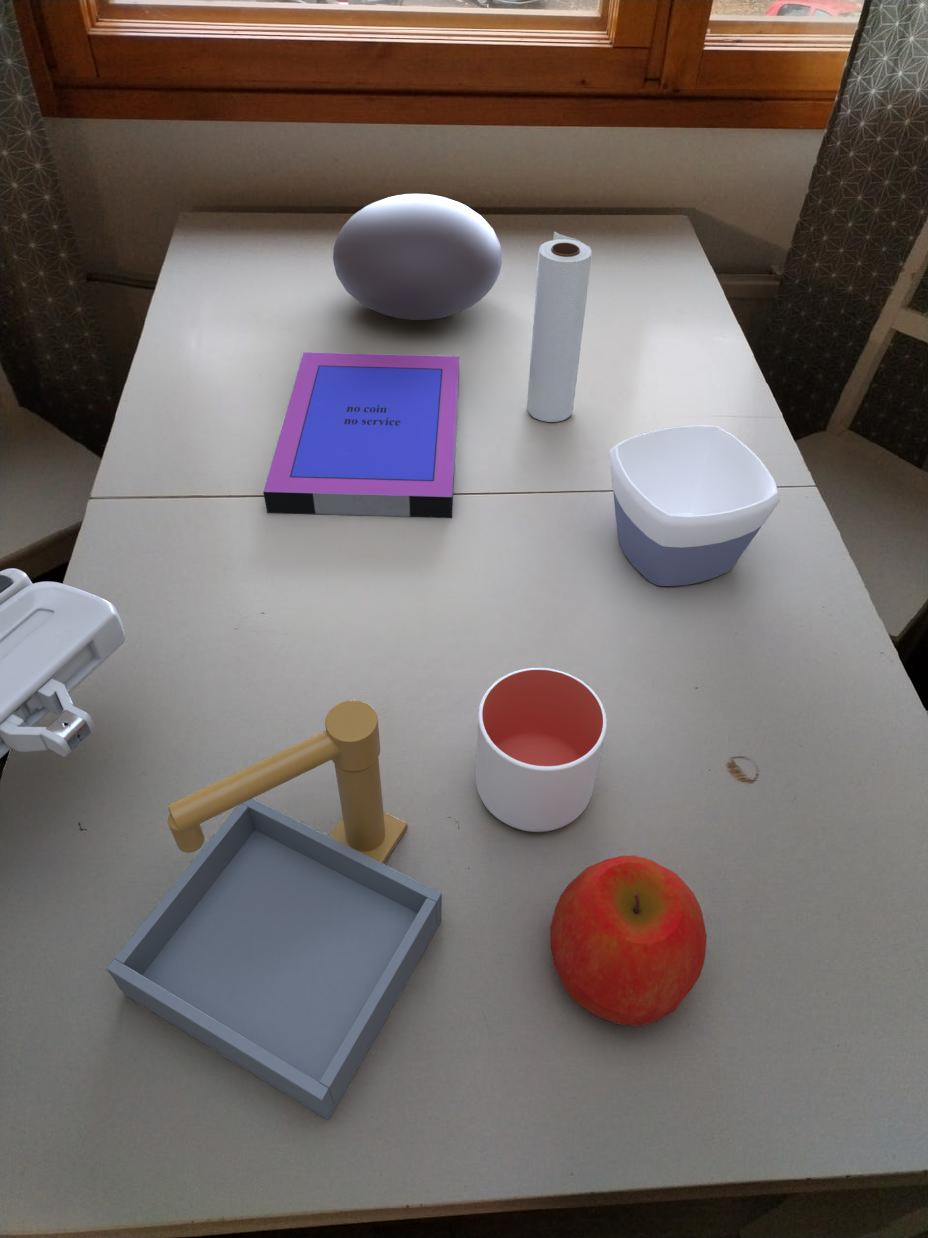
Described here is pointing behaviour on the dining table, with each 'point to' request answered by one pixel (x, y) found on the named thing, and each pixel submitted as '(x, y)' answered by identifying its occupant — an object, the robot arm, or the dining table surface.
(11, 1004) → the dining table surface
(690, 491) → the bowl
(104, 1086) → the dining table surface
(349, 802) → the faucet base
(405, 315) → the smooth stone
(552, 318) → the paper towel roll
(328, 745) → the spout
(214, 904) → the sink
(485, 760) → the cup
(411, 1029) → the dining table surface
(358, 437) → the book
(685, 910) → the apple
